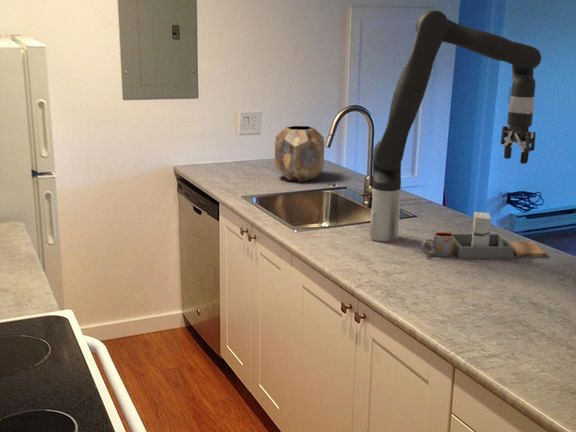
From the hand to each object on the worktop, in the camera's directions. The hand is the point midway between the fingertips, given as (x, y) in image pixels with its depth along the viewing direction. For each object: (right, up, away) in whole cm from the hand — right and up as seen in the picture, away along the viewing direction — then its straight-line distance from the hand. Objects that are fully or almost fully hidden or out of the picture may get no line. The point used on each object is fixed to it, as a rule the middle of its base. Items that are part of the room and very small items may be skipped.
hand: (515, 160), depth 226 cm
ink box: (-13, -29, -4) cm, 32 cm away
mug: (-27, -30, -8) cm, 41 cm away
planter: (-68, -1, +99) cm, 121 cm away
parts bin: (-13, -29, -4) cm, 32 cm away
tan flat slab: (+2, -29, -4) cm, 29 cm away
